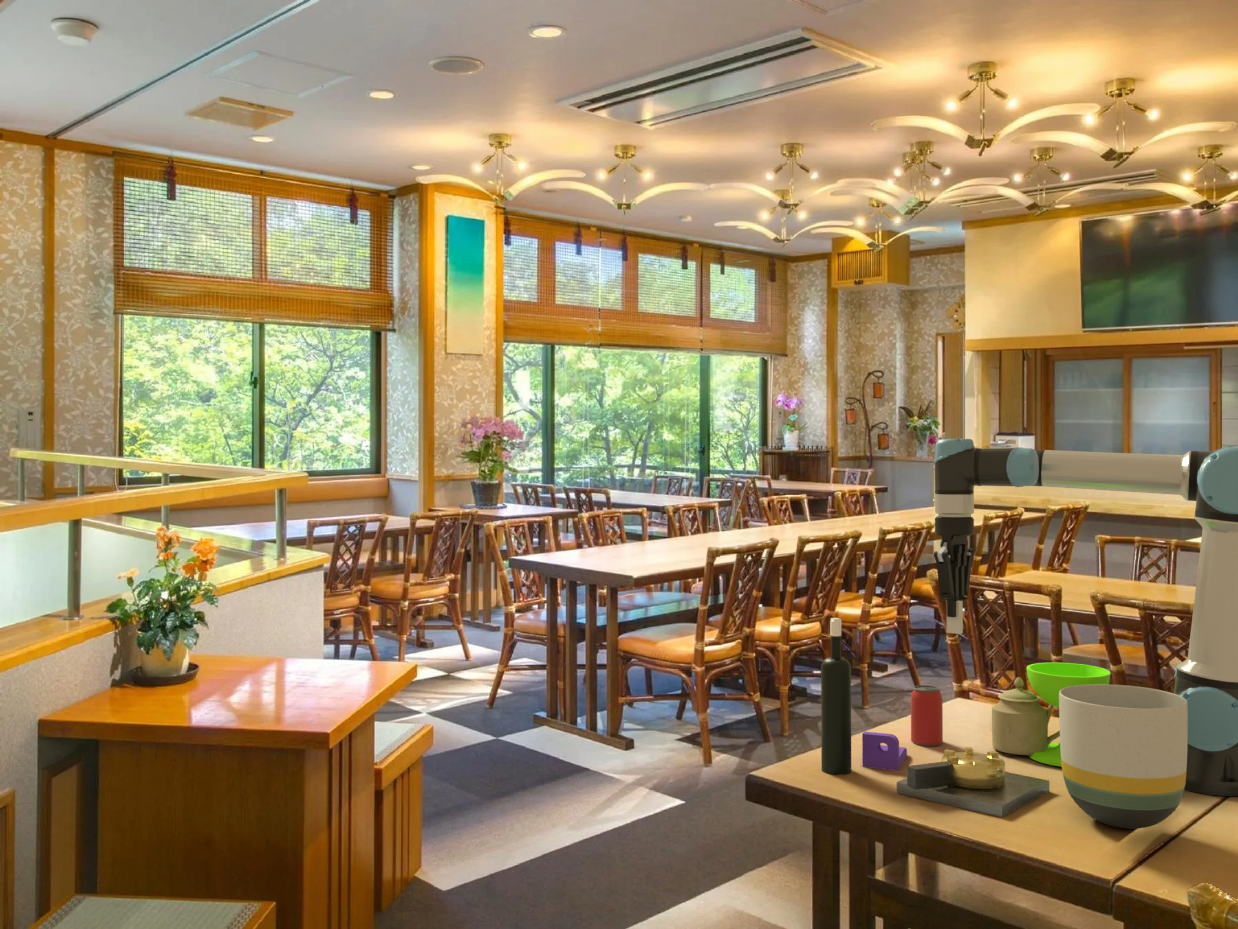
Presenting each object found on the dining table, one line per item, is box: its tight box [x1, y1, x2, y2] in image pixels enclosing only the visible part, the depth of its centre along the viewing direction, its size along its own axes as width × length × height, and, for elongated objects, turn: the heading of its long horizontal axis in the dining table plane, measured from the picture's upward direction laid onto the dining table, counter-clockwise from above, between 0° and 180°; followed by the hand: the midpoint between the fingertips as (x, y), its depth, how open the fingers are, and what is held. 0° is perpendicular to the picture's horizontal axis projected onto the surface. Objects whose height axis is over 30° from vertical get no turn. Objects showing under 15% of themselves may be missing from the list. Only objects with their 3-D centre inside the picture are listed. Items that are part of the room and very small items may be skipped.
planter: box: [1058, 683, 1188, 830], centre depth 181 cm, size 20×20×21 cm
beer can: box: [910, 684, 944, 747], centre depth 232 cm, size 7×7×12 cm
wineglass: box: [1026, 662, 1112, 768], centre depth 221 cm, size 16×16×18 cm
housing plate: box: [896, 771, 1050, 818], centre depth 198 cm, size 20×20×2 cm
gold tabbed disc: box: [906, 746, 1006, 790], centre depth 196 cm, size 19×11×5 cm, turn 111°
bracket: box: [861, 731, 908, 771], centre depth 219 cm, size 12×7×7 cm, turn 156°
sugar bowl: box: [991, 676, 1060, 756], centre depth 226 cm, size 15×11×15 cm
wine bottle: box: [820, 617, 852, 775], centre depth 212 cm, size 6×6×30 cm
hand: (954, 632), depth 216 cm, fingers closed
